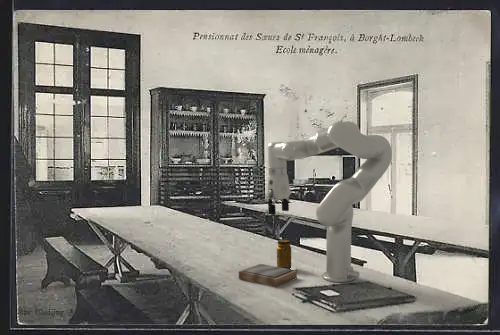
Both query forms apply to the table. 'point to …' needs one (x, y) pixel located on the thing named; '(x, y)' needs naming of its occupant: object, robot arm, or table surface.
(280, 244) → the condiment
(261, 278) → the tray
